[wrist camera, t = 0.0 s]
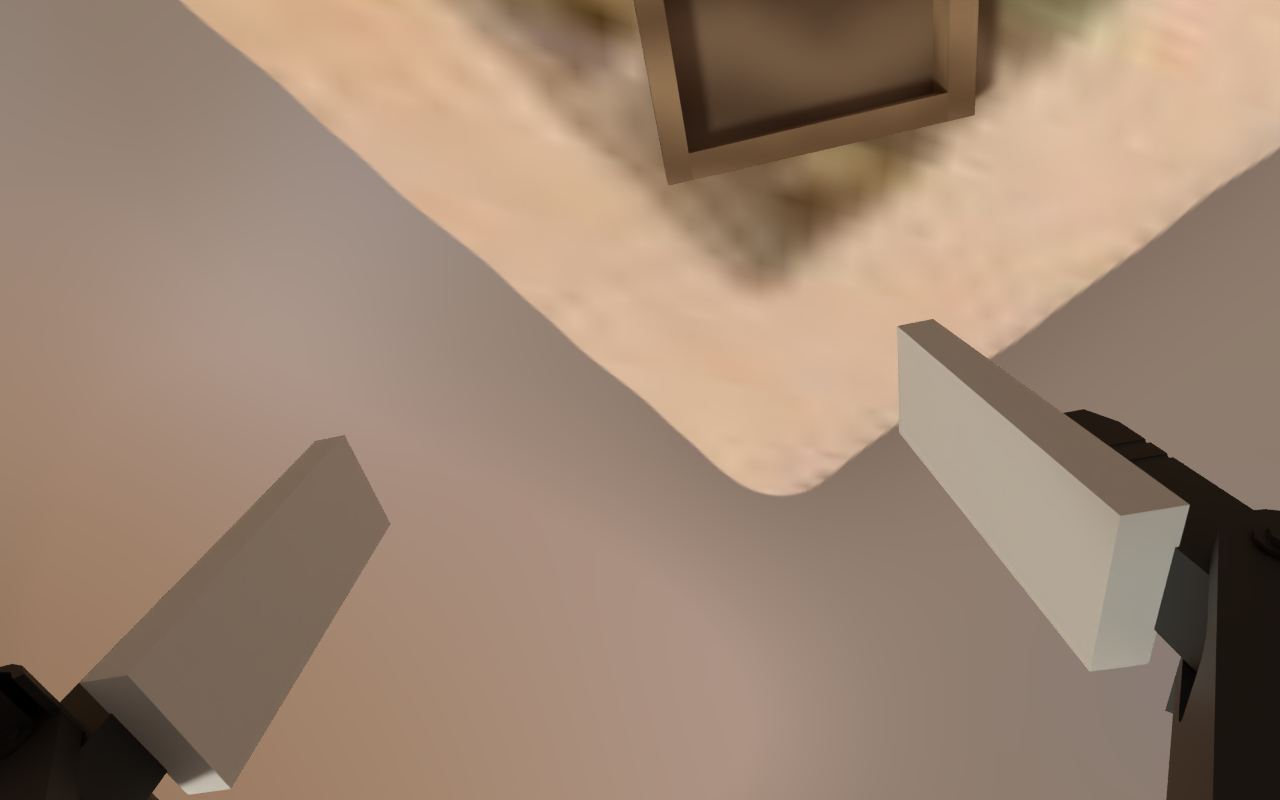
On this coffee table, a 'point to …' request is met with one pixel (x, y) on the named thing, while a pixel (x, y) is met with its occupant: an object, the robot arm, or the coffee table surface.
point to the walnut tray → (800, 75)
